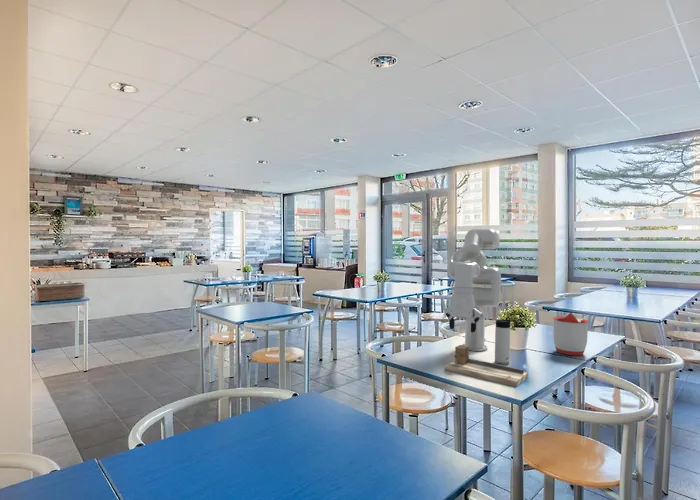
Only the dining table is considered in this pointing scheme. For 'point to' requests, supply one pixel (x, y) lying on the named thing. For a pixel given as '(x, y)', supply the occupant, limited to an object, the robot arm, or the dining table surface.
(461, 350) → the brown block
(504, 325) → the travel mug
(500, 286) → the robot arm
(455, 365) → the board
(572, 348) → the citrus juicer
